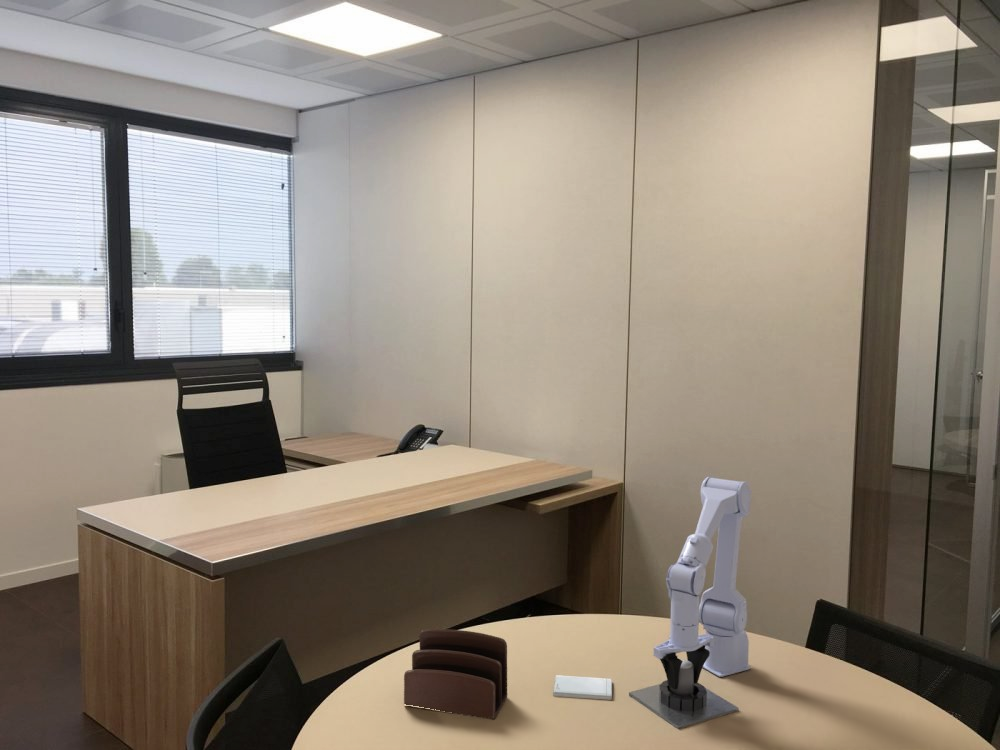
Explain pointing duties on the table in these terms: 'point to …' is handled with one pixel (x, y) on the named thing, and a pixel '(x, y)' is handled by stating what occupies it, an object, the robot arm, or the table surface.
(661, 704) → the flat grey square plate
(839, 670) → the table surface
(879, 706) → the table surface
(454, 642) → the letter holder
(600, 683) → the hard drive
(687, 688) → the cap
